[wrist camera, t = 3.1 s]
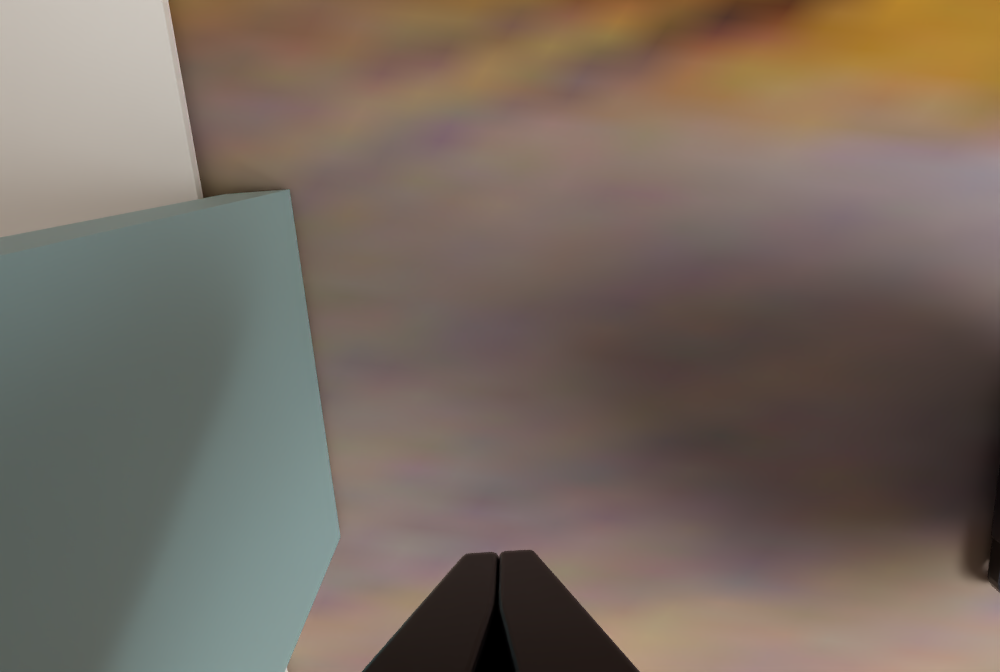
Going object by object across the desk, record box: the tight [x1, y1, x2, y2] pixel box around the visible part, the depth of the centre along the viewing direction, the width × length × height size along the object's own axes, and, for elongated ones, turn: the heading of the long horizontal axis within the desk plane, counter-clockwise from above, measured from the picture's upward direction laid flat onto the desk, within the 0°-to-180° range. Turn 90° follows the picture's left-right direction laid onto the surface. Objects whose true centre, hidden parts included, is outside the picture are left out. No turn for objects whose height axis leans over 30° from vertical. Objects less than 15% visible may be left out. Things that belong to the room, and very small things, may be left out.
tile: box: [0, 189, 340, 672], centre depth 12 cm, size 2×9×12 cm, turn 4°
